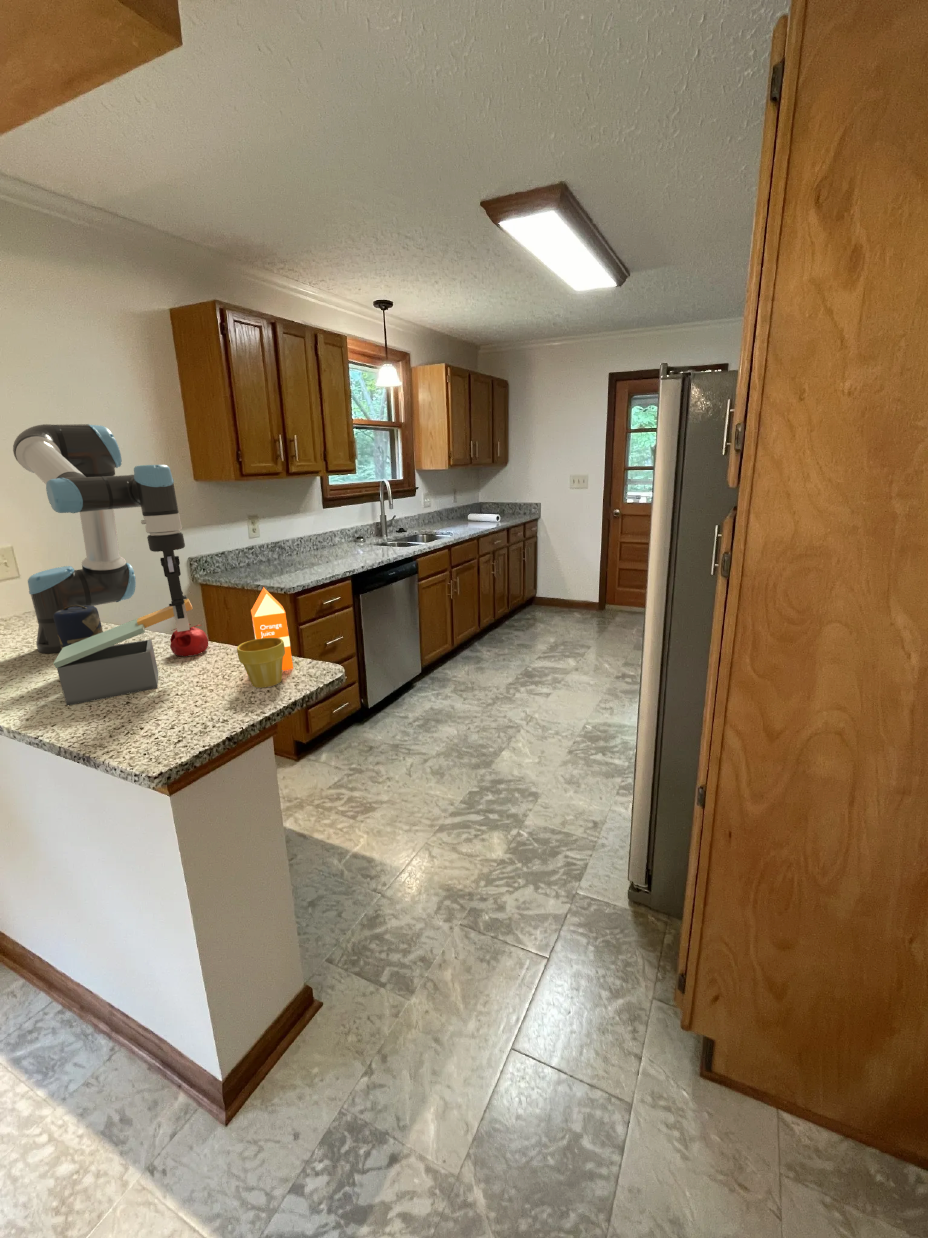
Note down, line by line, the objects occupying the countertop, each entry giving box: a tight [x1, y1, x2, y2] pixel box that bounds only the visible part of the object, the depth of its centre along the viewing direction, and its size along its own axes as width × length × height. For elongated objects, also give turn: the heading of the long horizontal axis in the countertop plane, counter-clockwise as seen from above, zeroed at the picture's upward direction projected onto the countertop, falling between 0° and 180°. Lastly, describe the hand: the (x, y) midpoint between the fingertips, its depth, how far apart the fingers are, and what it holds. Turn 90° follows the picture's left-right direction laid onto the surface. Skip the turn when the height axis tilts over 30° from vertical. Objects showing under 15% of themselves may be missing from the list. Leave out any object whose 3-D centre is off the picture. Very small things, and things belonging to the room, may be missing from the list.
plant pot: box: [236, 637, 285, 689], centre depth 130 cm, size 10×10×10 cm
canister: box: [53, 605, 104, 650], centre depth 143 cm, size 10×10×18 cm
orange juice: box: [250, 586, 294, 671], centre depth 140 cm, size 8×9×20 cm
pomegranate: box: [169, 623, 209, 657], centre depth 155 cm, size 10×10×9 cm
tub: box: [56, 638, 159, 706], centre depth 132 cm, size 12×18×9 cm, turn 117°
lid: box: [52, 598, 193, 669], centre depth 131 cm, size 13×30×2 cm, turn 117°
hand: (183, 628), depth 137 cm, fingers closed on lid, 4 cm apart
